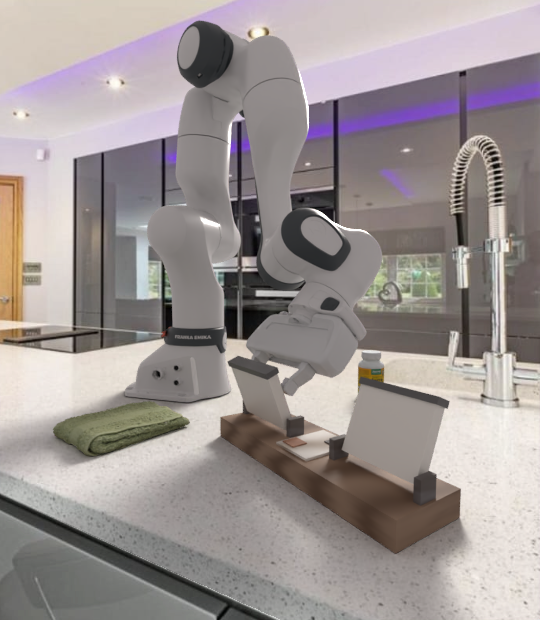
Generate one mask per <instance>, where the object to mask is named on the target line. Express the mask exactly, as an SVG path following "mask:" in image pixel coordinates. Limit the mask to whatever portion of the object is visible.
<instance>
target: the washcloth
mask: <svg viewBox="0 0 540 620" xmlns="http://www.w3.org/2000/svg"><path fill="white" fill-rule="evenodd" d="M190 424H191V421H190V419H189V418H187V417H185V416H183V414H182V413H179V412H176V411H174V410H173V409H171V408H170V407H169V406H167V405H164V406H163V405H159V404H158V403H156V402H155V401H150V400H147V401H141V402H140V401H139V402H131V403H126V404H122V405H119V406H116V407H110V408H106V410H101V411H96V412H90V413H84V414H82V415H77V416H72V417H69V418H68V417H67V418H66V419H64V420H63V421H59V422H58V423H56V424H55V425H54V427H52V428H53V429H52V433H53V434H54V437H57V438H58V439H60V440H63V441H64V443H66V444H68V445H73V446H74V447H76V449H77V450H78V451H80V452H81V453H83V454H84V455H85V456H88V457H89V456H90V457H97V456H100V455H102V454H107V453H109V452H112V451H118V450H121V449H124V448H127V447H128V446H131V445H136V444H139V443H142V442H144V441H146V440H148V439H152V438H154V437H158V436H160V435H162V434H166V433H169V432H171V431H175V430H179V429H183V428H184V426H185V427H186V426H188V425H190Z"/></svg>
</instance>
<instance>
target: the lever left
mask: <svg viewBox="0 0 540 620" xmlns="http://www.w3.org/2000/svg"><path fill="white" fill-rule="evenodd" d="M227 366H228V367H230V368H231V371H232V373H233V376H234V379H235V381H236V384H237V386H238V389H239V393H240V395H241V398H242V402H243V401H244V404H245V407H246V409H247V411H248V412H250V413H252V414H254V415H256V416H258V417H260V418H262V419H264V420H266V421H268V422H270V423H272V424H274V425H276V426H278V427H280V428H282V429H284V430H286V429H287V418H291V417H292V416H291V414H292V413H291V412H290V407H289V405H288V402H287V398H286V397H285V395H286V394H284V392H283V389H282V386H281V383H282V382H281V380H280V378H279V374H280V371H279V368H278V367H277V366H274V365H271V364H267V363H266V364H264V363H261V362H258V361H254V360H251V358H247V357H243V356H240V355H236V356H235V357H233V358H231V359H230V360H228V361H227Z"/></svg>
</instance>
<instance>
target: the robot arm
mask: <svg viewBox="0 0 540 620" xmlns="http://www.w3.org/2000/svg"><path fill="white" fill-rule="evenodd" d="M176 62H177V67H178V71H179V73H180V75H181V76H182V78H184V80H185V81H187V82H188V83H189V84H190V85H192V86H194V87H192V88H190V89H189V90H188V91H187V92H186V94H185V96H184V100H183V103H182V107H181V111H180V116H179V122H178V129H177V131H178V132H177V142H176V143H177V144H176V159H175V161H176V162H175V179H176V183H177V185H178V186H179V187H180V189H181V191H182V193H183V195H184V196H183V197H184V199H185V200H184V201H185V204H186V205H184V204H181V205H179V204H175V205H174V204H173V205H172V204H171V205H164V206H161V207H159V208H157V209H156V210H154V212H153V213H152V214H151V215H150V217H149V219H148V223H147V226H146V236H147V239H148V240H147V241H148V242H149V244H150V247H151V248H152V249H153V251H155V253H156V254H157V255H158V257H159V258H160V260H161V262H162V264H163V265H164V269H165V271H166V275H167V278H168V281H169V285H170V292H171V307H172V308H171V311H172V313H171V314H172V315H171V316H172V325H171V326H169V327H168V328H167V329H165V330H164V331H162V332H161V338H163V342H164V343H163V344H162V345H161V346H160V347H158V348H157V349H156V350H155V351H153V352H152V353H151V354H150V355H148V356H147V357H146V358H144V360H143V361H142V360H141V362H140V364H139V365H138V368H137V370H136V377H135V381H134V382H132V383H131V384H129V385H127V386H126V388H125V389H124V395H125V397H129V398H140V399H151V400H160V401H167V402H169V401H170V402H177V403H178V402H179V403H191V402H195V401H199V400H203V399H210V398H216V397H219V396H223V395H226V394H228V393H230V392H231V390H232V386H231V383H230V379H229V374H228V369H227V368H228V367H227V361H226V351H227V342H228V341H227V339H228V338H227V327H226V326H225V292H224V289H223V287H222V285H221V284H220V282H219V281H218V279H217V276H216V273H215V271H214V266H213V264H215V265H217V264H219V263H225V262H227V261H230V260H232V259H233V258H234V257H235V256H236V255H238V252H239V251H240V249H241V245H242V244H241V243H242V237H241V233H240V231H239V229H238V227H237V225H236V223H235V219H234V215H233V209H232V201H231V196H230V186H229V185H230V184H229V181H230V180H229V177H230V163H231V162H230V160H231V146H232V144H231V142H232V127H233V122H234V119H235V118H236V116H237V115H238V114H239V115H240V117H242V118H244V122H245V127H246V132H247V137H248V142H249V143H248V144H249V149H250V154H251V155H250V156H251V162H252V169H253V177H254V189H255V196H256V204H257V213H258V219H259V229H260V231H259V232H260V242H259V247H258V250H257V255H256V258H255V262H256V263H255V264H256V269H257V272H258V274H259V276H260V278H261V279H262V280H263V281H264V282H265V284H267V285H268V286H270V287H271V288H273V289H274V290H278V291H283V292H284V291H285V292H286V291H293V290H296V289H297V288H299V287H301V286H302V285H303V284H304V283H305V284H304V285H303V286H302V287H301V289H300V290H299V291H298V293H297V294H296V296H295V297H294V298H293V299H292V301H290V303H289V304H288V307H287V311H285V310H284V311H280V312H279V313H278V314H277V313H275V314H274V313H273V314H271V315H269V316H268V317H266V319H264V321H262V323H261V324H259V326H258V327H257V328H256V329H255V330H254V331H253V333H252V334H251V335H250V336H249V337H248V339H247V340H246V343H245V347H246V349H247V350H248V351H249V352H250V353H251V354H252V356H251V358H250V359H251V360H254V361H258V362H261V363H264V364H267V363H268V362H271V363H275V364H279V365H283V366H286V367H291V368H294V369H297V370H296V371H295V372H294V373H293V374H292V375H291V376H289V377H284V379H283V380H282V382H280V383H281V386H282V389H283V392H284V395H286V396H290V397H293V396H294V395H295V393H296V392H297V391H298V390H299V388H301V387H302V386H303V385H305V384H306V383H308V382H310V381H312V379H313V378H314V376H316V375H321V376H323V377H328V378H330V379H333V378H335V377H336V376H338V375H340V374H341V373H342V372H343V371H344V370H345V369H346V368H347V366H348V364H349V363H350V361H351V360H352V358H353V356H354V355H355V353H356V352H357V349H358V347H359V342H361V341H362V340H363V339H364V338H365V337H366V335H367V333H368V332H367V329H366V328H365V326H364V324H363V323H362V321H361V320H360V318H359V317H358V316H357V315H356V313H355V312H354V308H355V307H356V304H357V303H358V302H359V301H361V300H362V299H363V298H364V297H365V295H366V294H367V292H368V291H369V289H370V287H371V286H372V284H373V282H374V281H375V279H376V277H377V276H378V273H379V272H380V269H381V266H382V262H383V252H382V248H381V245H380V243H379V242H378V241H377V240H376V238H375V237H374V236H373V235H371V234H370V233H368V232H367V231H366V230H362V229H356V228H355V229H354V228H347V227H344V226H341V225H340V224H338V223H335V222H334V221H332V220H331V219H330V218H329V217H328V216H327V215H325V214H324V213H323V212H321V211H319V210H318V209H315V208H312V207H311V208H310V207H300V208H296V209H293V207H292V198H291V184H292V183H291V182H292V177H293V174H294V170H295V166H296V165H297V162H298V159H299V157H300V154H301V151H302V150H303V148H304V145H305V143H306V140H307V137H308V133H309V126H310V125H309V123H310V122H309V118H310V117H309V105H308V100H307V94H306V91H305V87H304V82H303V79H302V76H301V73H300V70H299V67H298V64H297V63H296V60H295V57H294V55H293V53H292V51H291V49H290V47H289V46H288V44H287V43H286V42H285V41H284V40H283V39H281V38H280V37H277V36H275V35H269V34H268V35H267V34H266V35H261V36H257V37H256V38H254V39H252V40H250V41H249V40H247V39H246V38H241V37H240V36H238V35H236V34H234V33H232V32H229V31H227V30H225V29H223V28H222V27H221V26H220V25H218V24H216V23H214V22H210V21H207V20H200V19H199V20H195V21H194V22H192V23H190V24H189V25H188V26H187V27H186V28H185V29H184V31H183V33H182V34H181V37H180V39H179V42H178V47H177V51H176Z"/></svg>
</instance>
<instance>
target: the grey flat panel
mask: <svg viewBox="0 0 540 620" xmlns="http://www.w3.org/2000/svg"><path fill="white" fill-rule="evenodd" d="M359 383H360V384H361V385H360V389H359V392H358V391H357V397H356V399H355V402H354V407H353V410H352V414H351V416H350V421H349V423H348V427H347V430H346V432H345V433H346V434H345V435H346V436H345V440H344V443H343V447H342V450H343V451H345V452H347V453H349V454H351V455H353V456H355V457H357V458H360V459H362V460H364V461H366V462H368V463H370V464H372V465H374V466H376V467H378V468H380V469H382V470H385V471H387V472H389V473H391V474H393V475H395V476H397V477H399V478H401V479H403V480H405V481H408V482H410V483H412V484H414V477H416V476H418V475H421V474H423V473H425V472H428V471H430V467H431V463H432V460H433V457H434V452H435V448H436V443H437V440H438V437H439V434H440V433H439V431H440V430H441V424H442V420H443V417H444V413H445V410H447V409H448V408H449V405H450V400H449V399H446V398H444V397H441V396H438V395H434V394H431V393H426V392H423V391H418V390H415V389H412V388H411V389H410V388H407V387H403V386H398V385H394V384H391V383H388V382H387V383H386V382H385V381H384V382H380V381H376V380H372V379H368V378H364V377H360V380H359Z"/></svg>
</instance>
